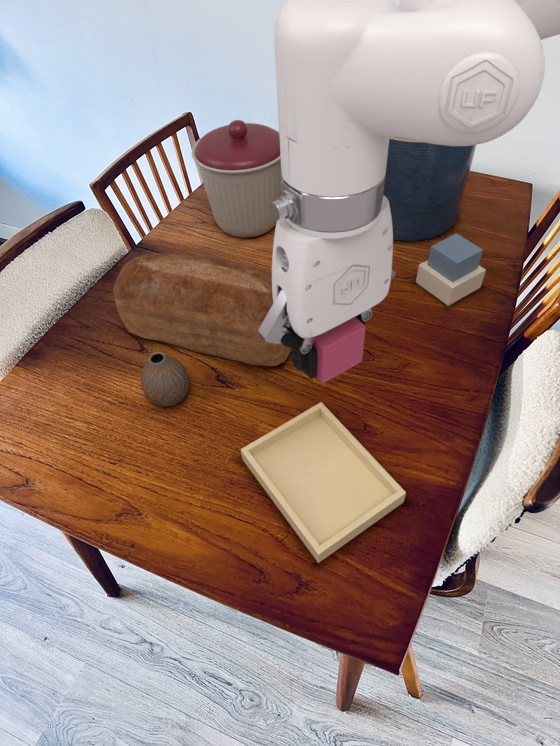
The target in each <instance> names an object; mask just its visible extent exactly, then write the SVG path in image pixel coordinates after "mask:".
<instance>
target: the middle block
mask: <svg viewBox="0 0 560 746" xmlns="http://www.w3.org/2000/svg"><path fill="white" fill-rule="evenodd" d="M483 252H484V249H483V248H481V247H479V245H477V244H474V243H473V242H471V241H470V240H468V239H467V238H465V237H463V236H462V235H460V234H458V233H454V234H451V235H450V236H448V237H446V238H444V239H442V240H440V241H439V242H436V243H434V244H432V245H430V249H429V255H428V259H427V260H428V264H427V265H428V266H429V267H431V268H432V269H434V270H435V271H437V272H438V273H440V274H441V275H442V276H444V277H445V278H447V279H448V280H450V281H451V282H455V281H456V280H458V279H460V278H462V277H464V276H465V275H467V274H469V273H471V272H473V271H474V270H476V269H478V266H480V262H481V258H482V255H483Z"/></svg>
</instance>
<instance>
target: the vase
mask: <svg viewBox="0 0 560 746" xmlns="http://www.w3.org/2000/svg"><path fill="white" fill-rule="evenodd" d="M147 359H148V360H147V362H146V363H145V364H144V365H143V367H142V369H141V373H140V384H141V389H142V391H143V393H144V395H145V396H146V398H147V399H148V400H149V401H150V402H151V403H153V404H154V405H156V406H159V407H163V408H164V407H165V408H169V407H173V406H176V405H178V404H180V403H181V402H182V401H183V400H184V399H185V398H186V396H187V394H188V392H189V389H190V379H189V378H190V377H189V374H188V371H187V369H186V367H185V366H184V365H183V364H182V362H181V361H180V360H179V359H178V358H175V357H173V356H171V355H167V354H165V353H164V352H162V351H155V352H153V353H151V354H150V355H149V356H148V358H147Z"/></svg>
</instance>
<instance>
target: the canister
mask: <svg viewBox="0 0 560 746" xmlns="http://www.w3.org/2000/svg"><path fill="white" fill-rule="evenodd" d="M191 158H192V160H193V161H194V163H195V164H197V167H198V171H199V175H200V178H201V180H202V183H203V187H204V191H205V194H206V196H207V200H208V203H209V206H210V210H211V213H212V215H213V218H214V220H215V223H216V225H217V226H218V227H219V228H220V229H221V231H223V232H224V233H225V234H227V235H230V236H232V237H235V238H241V239H242V238H255V237H259V236H262V235H263V236H264V234H267V233H268V232H270V231H271V230H272V229H274V227H276V223H277V220H275V219H274V218H273V216H272V214H271V212H270V203H271V202H274V201H276V200H277V199H278V198H279V197H281V183H280V182H281V181H282V173H281V156H280V136H279V130H276V129H275V128H272V127H271V126H268V125H264V124H261V123H260V124H259V123H253V122H246V121H244V120H241V119H233V120H232V121H231V122H230V123H229V124H226V125H223V126H219V127H217V128H214V129H212V130H210V131H209V132H207V133H205V134H204V135H203V136H201V137H200V138H198V140H196V142H195V143H194V144H193V145H192V149H191Z"/></svg>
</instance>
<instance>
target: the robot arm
mask: <svg viewBox="0 0 560 746" xmlns="http://www.w3.org/2000/svg"><path fill="white" fill-rule="evenodd" d="M273 34H274V37H273V38H274V39H273V41H274V43H273V44H274V61H275V62H274V63H275V83H276V95H277V96H276V99H277V101H276V102H277V117H278V119H277V121H278V131H279V136H280V156H281V173H282V181H281V182H280V183H281V197H279V198H278V199H277V200H276V201H274V202H271V203H270V212H271V214H272V216H273V218H274V219H275V220H277V223H276V225H275V228H274V235H273V236H274V237H273V243H272V254H271V255H272V256H271V273H272V295H273V305H272V307H271V308H270V310H269V312H268V314H267V315H266V317H265V319H264V321H263V322H262V324H261V326H260V328H259V329H258V334H259V335H260V336H261V337H262V338H263V339H264V340H265V341H266V342H268V343H275V344H279V343H280V344H283V345H284V346H286V347H290V348H291V352H290V354H291V362H292V365H293V366H294V367H295V368H296V369H297V371H299V372H303V373H304V374H306V376H307V378H309V379H310V380H313V379H314V378H317V377H316V375H317V350H316V348H315V347H314V346H313V342H314V338H315V336H318V335H320V334H322V333H324V332H326V331H328V330H330V329H332V328H334V327H336V326H338V325H340V324H342V323H344V322H346V321H348V320H349V319H351V318H353V317H356V318H357V319H358V320H359V321H360V322H362V323H363V324H364V325H365V326H366V322H368V321H369V320H370V319H371V318H372V316H373V309H372V308H373V307H375V306H376V305H379V304H380V303H381V302H382V301H383V300H384V299H385V298H386V297H387V296H388V293H389V291H390V288H391V287H390V286H391V281H392V280H394V277H395V276H396V271H395V270H394V269H393V257H394V256H393V253H394V240H393V227H392V217H391V211H390V205H389V201H388V199H387V198H386V197H385V196H384V195H383V193H384V184H385V175H386V165H387V156H388V147H389V138H390V136H391V137H397V138H404V139H409V140H415V141H420V142H425V143H431V144H437V145H445V146H472V145H476V146H477V145H482V144H486V143H489V142H491V141H494V140H497V139H498V138H500V137H502V136H504V135H505V134H507V133H508V132H510V131H511V130H513V129H514V128H515V127H516V126H518V125H519V124H521V122H522V121H523V120H524V119H525V118H526V116H528V114H529V112H530V111H531V109H532V108H533V107H534V105H535V103H536V102H537V99H538V97H539V96H540V92H541V89H542V87H543V82H544V79H545V71H546V63H545V52H544V51H545V50H544V46H543V43H542V40H546V39H548V38H553V37H556V36H559V35H560V0H399V3H398V5H397V4H396V2H395V1H394V0H287V1H285V3H284V4H282V6H281V7H280V9H279V11H278V13H277V15H276V19H275V23H274V32H273ZM288 317H289V318H288ZM287 318H288V322H287V326H284V323H285V322H286V320H287Z"/></svg>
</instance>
